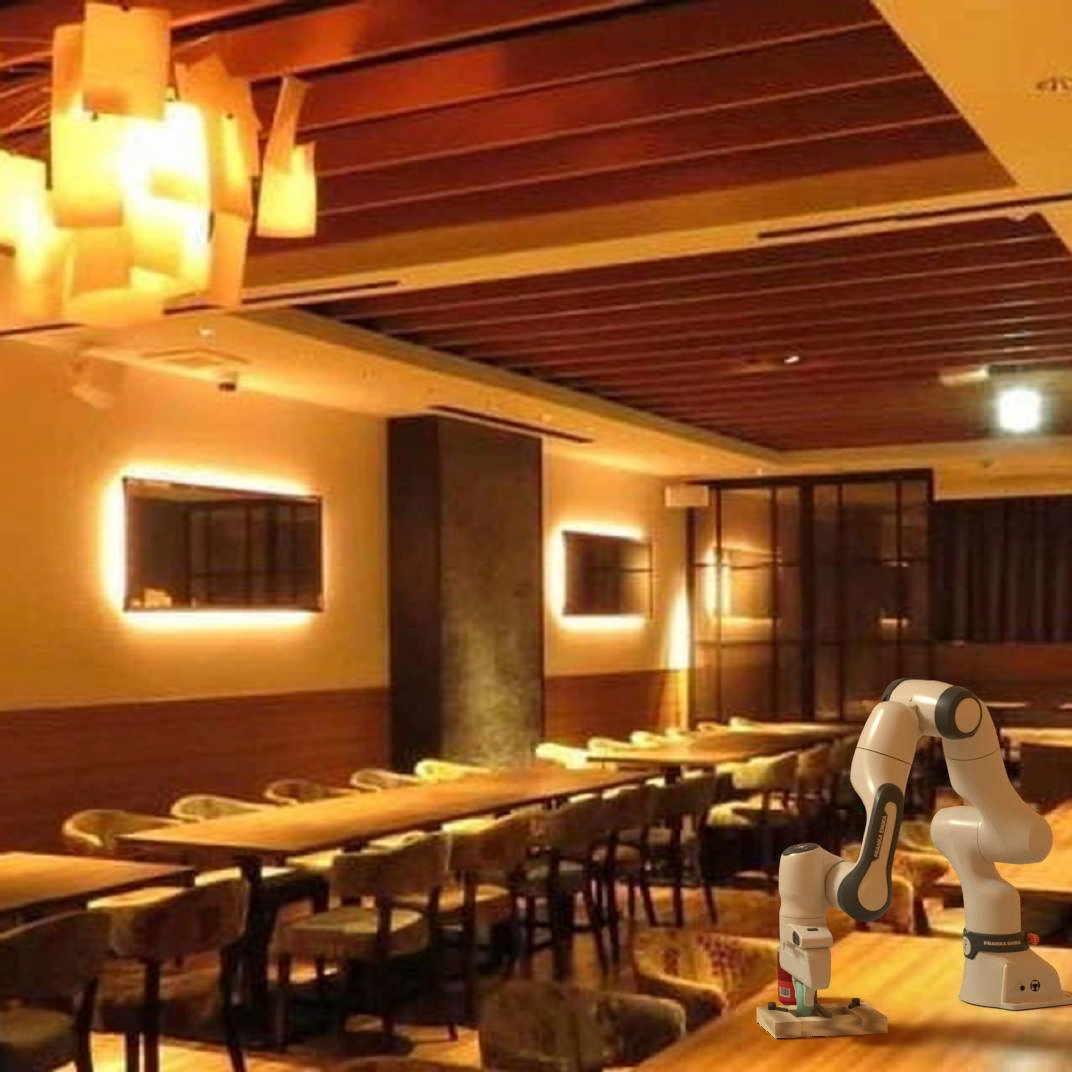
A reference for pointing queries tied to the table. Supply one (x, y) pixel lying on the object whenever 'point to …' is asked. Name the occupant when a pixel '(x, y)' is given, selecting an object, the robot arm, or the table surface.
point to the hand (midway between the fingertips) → (804, 1002)
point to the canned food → (785, 984)
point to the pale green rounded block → (801, 1008)
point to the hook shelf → (822, 1020)
